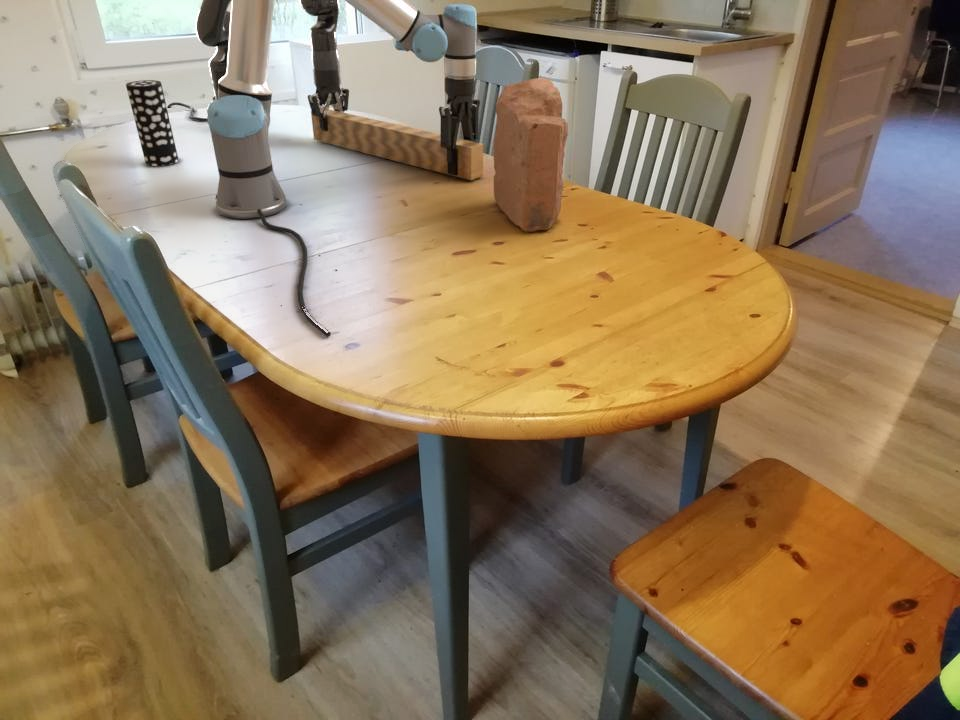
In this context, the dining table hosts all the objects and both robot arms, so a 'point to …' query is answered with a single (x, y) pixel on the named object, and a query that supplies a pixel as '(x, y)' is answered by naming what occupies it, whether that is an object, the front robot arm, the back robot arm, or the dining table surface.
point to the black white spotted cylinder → (152, 122)
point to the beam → (398, 143)
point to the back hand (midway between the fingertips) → (332, 128)
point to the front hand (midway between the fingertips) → (459, 171)
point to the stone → (529, 153)
